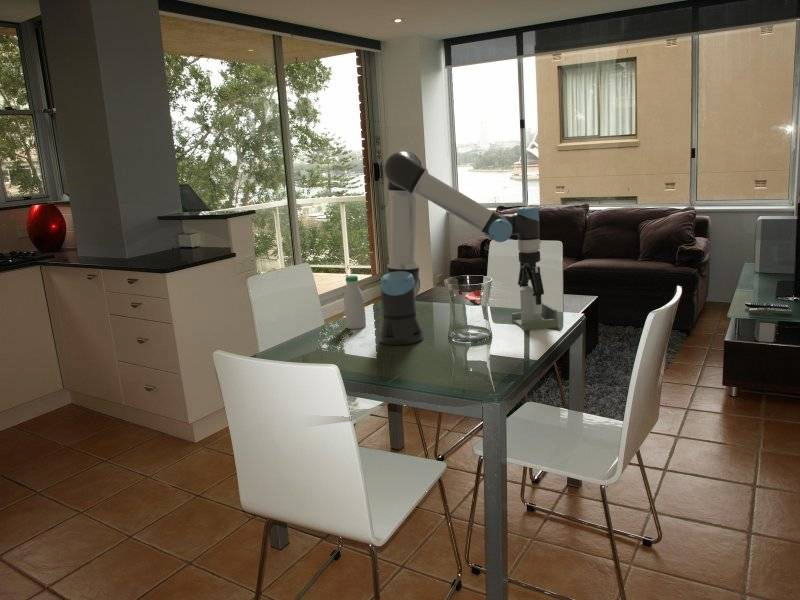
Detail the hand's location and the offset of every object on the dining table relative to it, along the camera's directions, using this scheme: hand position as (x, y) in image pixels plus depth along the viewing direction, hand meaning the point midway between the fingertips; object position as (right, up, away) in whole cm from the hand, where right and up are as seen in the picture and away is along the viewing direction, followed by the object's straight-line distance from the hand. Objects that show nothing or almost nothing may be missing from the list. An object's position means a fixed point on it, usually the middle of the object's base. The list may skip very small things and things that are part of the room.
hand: (531, 309), depth 235 cm
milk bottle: (-64, -7, +17) cm, 67 cm away
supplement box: (0, -5, +1) cm, 5 cm away
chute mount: (+1, -5, +1) cm, 6 cm away
